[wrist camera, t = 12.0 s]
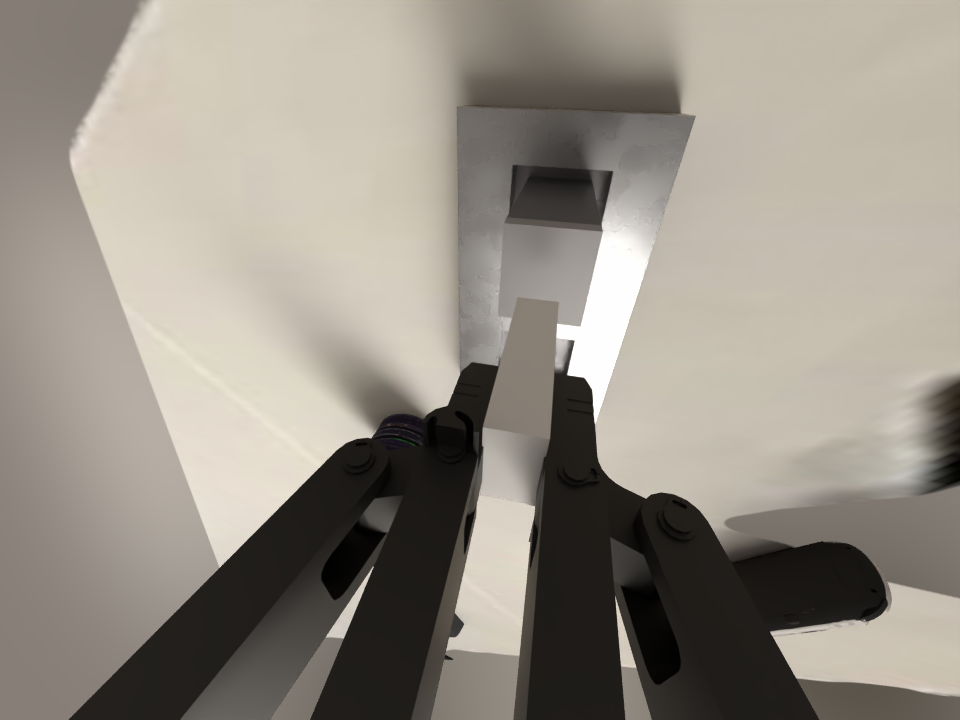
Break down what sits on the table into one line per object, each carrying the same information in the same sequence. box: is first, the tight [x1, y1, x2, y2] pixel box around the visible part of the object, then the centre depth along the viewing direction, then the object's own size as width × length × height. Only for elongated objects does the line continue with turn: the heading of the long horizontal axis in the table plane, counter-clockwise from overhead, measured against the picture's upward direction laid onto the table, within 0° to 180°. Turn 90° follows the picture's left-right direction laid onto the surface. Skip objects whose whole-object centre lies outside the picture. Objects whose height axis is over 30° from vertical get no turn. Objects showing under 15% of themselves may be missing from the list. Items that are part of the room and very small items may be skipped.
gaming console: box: [732, 541, 892, 637], centre depth 44 cm, size 19×9×2 cm
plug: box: [498, 176, 603, 327], centre depth 22 cm, size 4×5×12 cm
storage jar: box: [371, 414, 424, 565], centre depth 43 cm, size 10×10×15 cm
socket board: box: [457, 106, 696, 423], centre depth 30 cm, size 14×26×4 cm, turn 178°
